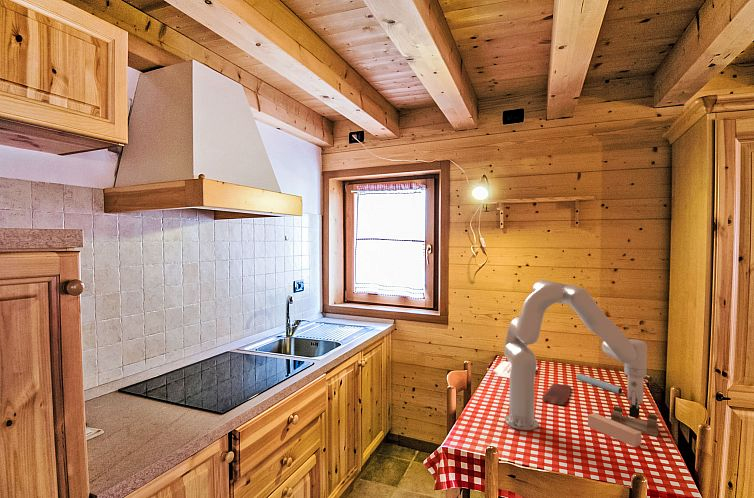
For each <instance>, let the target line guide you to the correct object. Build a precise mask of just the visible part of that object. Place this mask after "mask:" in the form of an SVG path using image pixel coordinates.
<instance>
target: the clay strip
mask: <svg viewBox="0 0 754 498" xmlns="http://www.w3.org/2000/svg"><path fill="white" fill-rule="evenodd" d="M588 426H589V427H588ZM587 427H588V428H590V427H591V429H593V430H595V431H597V432H600V433H602V434H604V435H607V436H608V437H611V438H613V439H615V440H617V441H620V442H622V443H625V444H627V445H629V446H632V447H634V448H638V447H639V446H641V445H642V433H641V432H640V431H638V430H635V429H633V428H630V427H628V426H625V425H623V424H621V423H618V422H616V421H613V420H611V418H608V417H605V416H603V415H600V414H598V413H595V412H593V413H591V414H590V413H589V414H588V415H587Z"/></svg>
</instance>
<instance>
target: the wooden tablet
mask: <svg viewBox="0 0 754 498" xmlns="http://www.w3.org/2000/svg"><path fill="white" fill-rule="evenodd" d="M571 390H572V386H570V385H567V384H566V385H565V384H559V383H553V384H551V385H550V386H549V388H548V389H547V390H546V391H545V393H544V395H543V396H542V401H543V402H546V403H550V404H554V405H556V406H557V405H558V406H564V405H566V403H567V402H568V400H569V397H570V394H571Z"/></svg>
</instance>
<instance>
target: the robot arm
mask: <svg viewBox="0 0 754 498" xmlns="http://www.w3.org/2000/svg"><path fill="white" fill-rule="evenodd" d="M531 290H532V293H530V294H529V295H528V296H527V297H526V299H525V300H524V301H523V305H522V308H521V312H520V315H519V316H517V317H514V318H513V319H512V320H511V321H510V323H509V325H508V326H507V332H506V337H505V341H504V346H503V354H504V357H505V358H506V360H507V362H508V361H509V362H510V363H511V372H510V378H509V409H508V410H509V411H508V412H509V414H508V415H507V416H505V419H504V420H505V424H506V425H508V426H510V427H512V428H513V429H516V430H520V431H533V430H536V429H538V427H539V422H538V420H537V419H536V418H535V383H536V382H535V381H536V379H535V378H536V371H537V370H536V367H538V366H537V361H538V360H537V356H536V354H535V353H534V352H533V350H532V349H530V348H529V347H528V345H533V344H535V343H537V342H538V339H539V337H540V333H541V328H542V324H543V320H544V315H545V312H546V311H547V310H548V308H549V307H551V306H552V305H554V304H563V305H564V304H565V305H568V306H570V307H571V308H572V309H573V312H575V313H576V315H577V316H578V317H579V319H580V320H581V322H582V323H583V325H584V326H585V327H586V329H588V330H589V331H590V332H592V333H593V334H595V335H596V336H597V337H599V338H600V339H601V340H602V343H601V350H602V351H603V353H604V354H605V355H607V356H608V357H611V358H613V359H615V360H616V361H618V362H620V363H623V364H624V365H623V371H624V372H623V373H624V374H625V375H626V376H627V381H626V382H627V383H626V384H627V389H626V390H627V391H626V392H627V400H628V401H629V409H628V410H629V412H628V414H629V415H628V417H630V418H634V419H639V417H640V403H643V402H644V378H646V377H647V367H648V366H647V364H648V363H647V362H648V360H647V359H648V357H647V355H648V345H647V343H646V342H645V341H643V340H641V339H635V338H634V339H629V338H628V337H627V336H626V335H625V333H624V332H623V331H622V330H621V329H620V328H619V327H618V326H617V325H616V324H615V323H614V322H613V321H612V320H611V319H610V318H608V316H607V315H606V314H605V313H604V312H603V310H602V309H601V307H600V306H599V304H597V302H596V300H595V299H594V298H593V296H592V295H591V293H589V291H587V289H585V288H584V287H582V286H581V287H580V286H577V285H572V284H565V283H559V282H555V281H550V280H545V279H544V280H543V279H540V280H538V281H536V282H535V283H534V284H533V286H532V289H531Z"/></svg>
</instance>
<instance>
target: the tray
mask: <svg viewBox="0 0 754 498" xmlns="http://www.w3.org/2000/svg"><path fill="white" fill-rule="evenodd" d="M538 368H539V366H536V371H538ZM492 371H493V373H496V377H502V378H508V379H510V372H511V363H510V362H509V361H508V360H507V361H506V360H503V361H502V362H499V364H498V365H497V366H496V367H495V368H494V369H493V370H492Z"/></svg>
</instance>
